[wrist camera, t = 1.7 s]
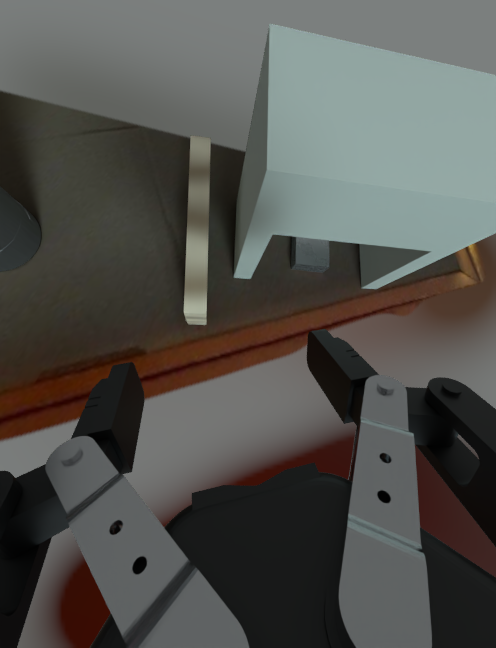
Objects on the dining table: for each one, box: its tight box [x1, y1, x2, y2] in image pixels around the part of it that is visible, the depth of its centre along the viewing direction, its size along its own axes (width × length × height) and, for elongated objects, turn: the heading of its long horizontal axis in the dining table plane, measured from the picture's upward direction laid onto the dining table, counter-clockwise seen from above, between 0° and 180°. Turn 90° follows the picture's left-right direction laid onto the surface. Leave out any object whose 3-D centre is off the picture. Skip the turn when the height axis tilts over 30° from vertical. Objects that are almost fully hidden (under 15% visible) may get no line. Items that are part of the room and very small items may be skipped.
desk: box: [234, 24, 496, 289], centre depth 30 cm, size 13×22×21 cm, turn 88°
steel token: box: [291, 236, 329, 272], centre depth 39 cm, size 5×5×2 cm
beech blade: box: [184, 135, 211, 325], centre depth 34 cm, size 22×2×8 cm, turn 0°
